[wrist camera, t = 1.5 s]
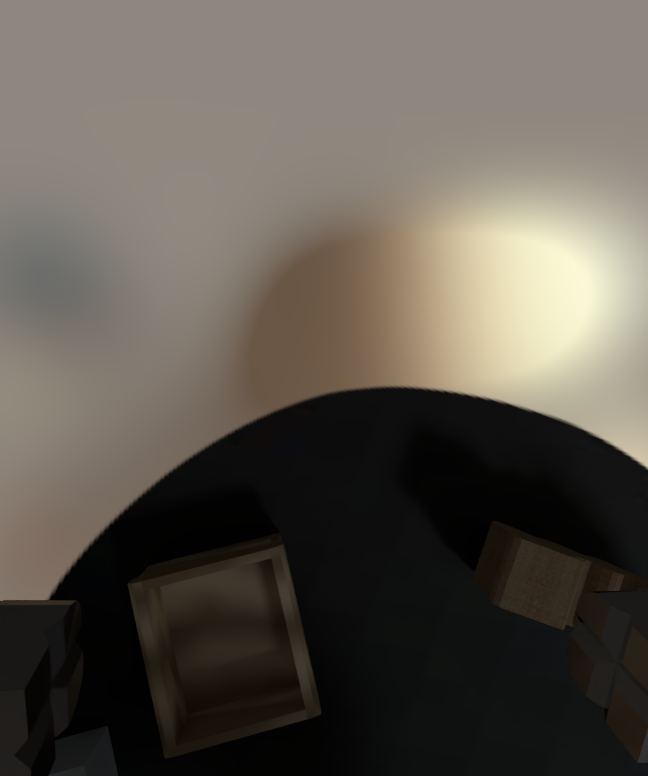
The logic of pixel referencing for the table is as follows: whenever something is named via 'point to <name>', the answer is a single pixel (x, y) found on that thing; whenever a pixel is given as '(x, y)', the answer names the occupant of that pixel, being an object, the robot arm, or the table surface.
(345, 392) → the table surface
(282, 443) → the table surface
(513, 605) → the toy train
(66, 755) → the small crate
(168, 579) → the pine crate
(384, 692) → the table surface
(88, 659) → the table surface
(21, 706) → the robot arm
